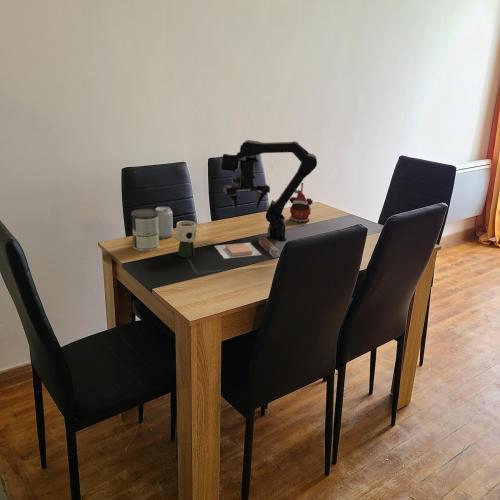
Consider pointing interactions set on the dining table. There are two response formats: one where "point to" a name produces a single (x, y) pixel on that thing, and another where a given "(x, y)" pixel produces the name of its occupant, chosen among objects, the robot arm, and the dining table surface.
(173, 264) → the dining table surface
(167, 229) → the can
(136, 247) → the coffee can
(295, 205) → the red and brown figurine
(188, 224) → the character mug
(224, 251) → the mat
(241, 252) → the tile
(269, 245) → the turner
